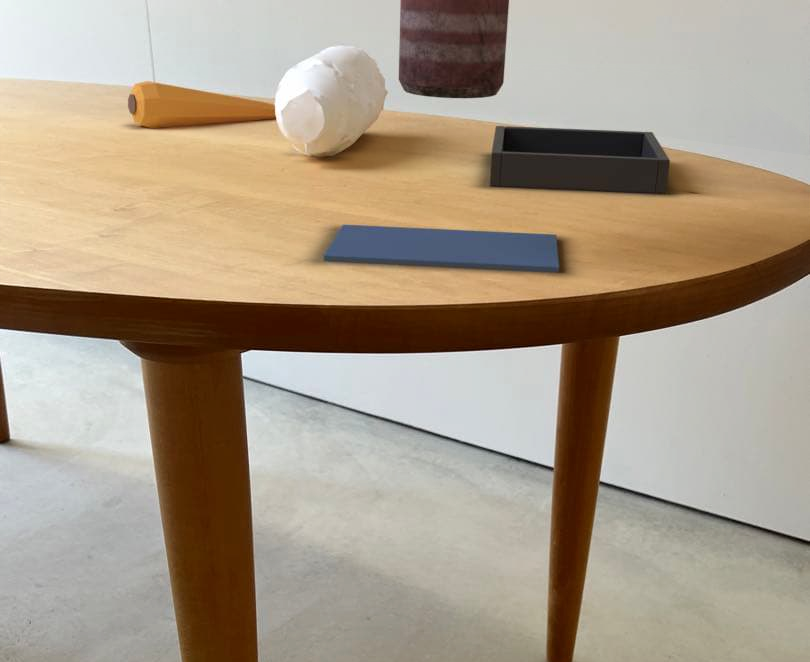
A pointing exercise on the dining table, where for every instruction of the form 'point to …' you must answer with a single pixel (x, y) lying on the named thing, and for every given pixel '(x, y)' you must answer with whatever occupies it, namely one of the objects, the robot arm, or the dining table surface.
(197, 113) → the carrot
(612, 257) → the dining table surface
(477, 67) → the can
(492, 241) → the blue-grey flat slab
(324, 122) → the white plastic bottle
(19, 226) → the dining table surface
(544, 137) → the dark grey open box
